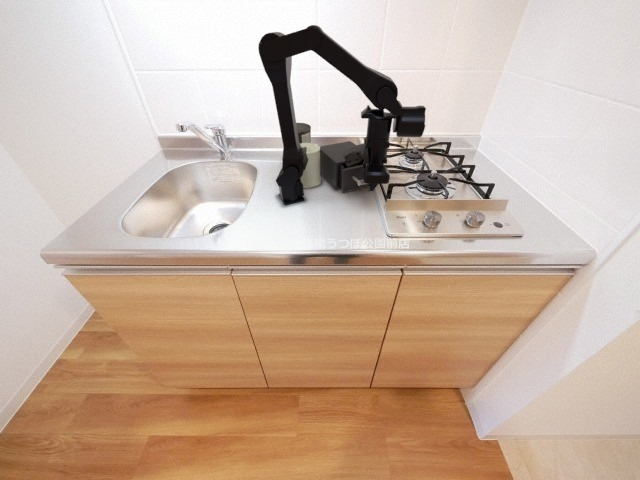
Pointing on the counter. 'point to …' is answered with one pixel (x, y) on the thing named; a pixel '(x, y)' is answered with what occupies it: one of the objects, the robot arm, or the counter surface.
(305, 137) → the coffee can
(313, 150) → the can
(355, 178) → the dark grey drawer
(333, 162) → the dark grey drawer box
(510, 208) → the counter surface
